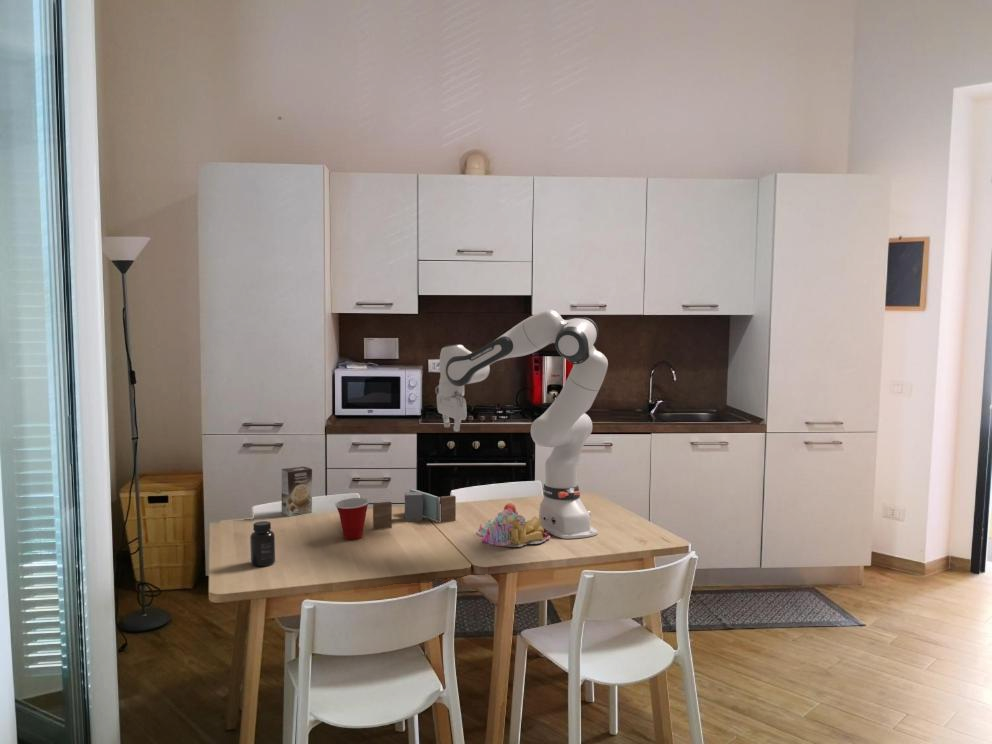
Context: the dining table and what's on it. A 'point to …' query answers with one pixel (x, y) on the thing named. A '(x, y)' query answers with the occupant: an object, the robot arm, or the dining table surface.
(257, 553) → the supplement bottle
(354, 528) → the plastic cup
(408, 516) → the block
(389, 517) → the wooden blocks
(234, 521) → the dining table surface
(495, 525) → the candy landscape model
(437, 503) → the door
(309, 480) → the coffee box
